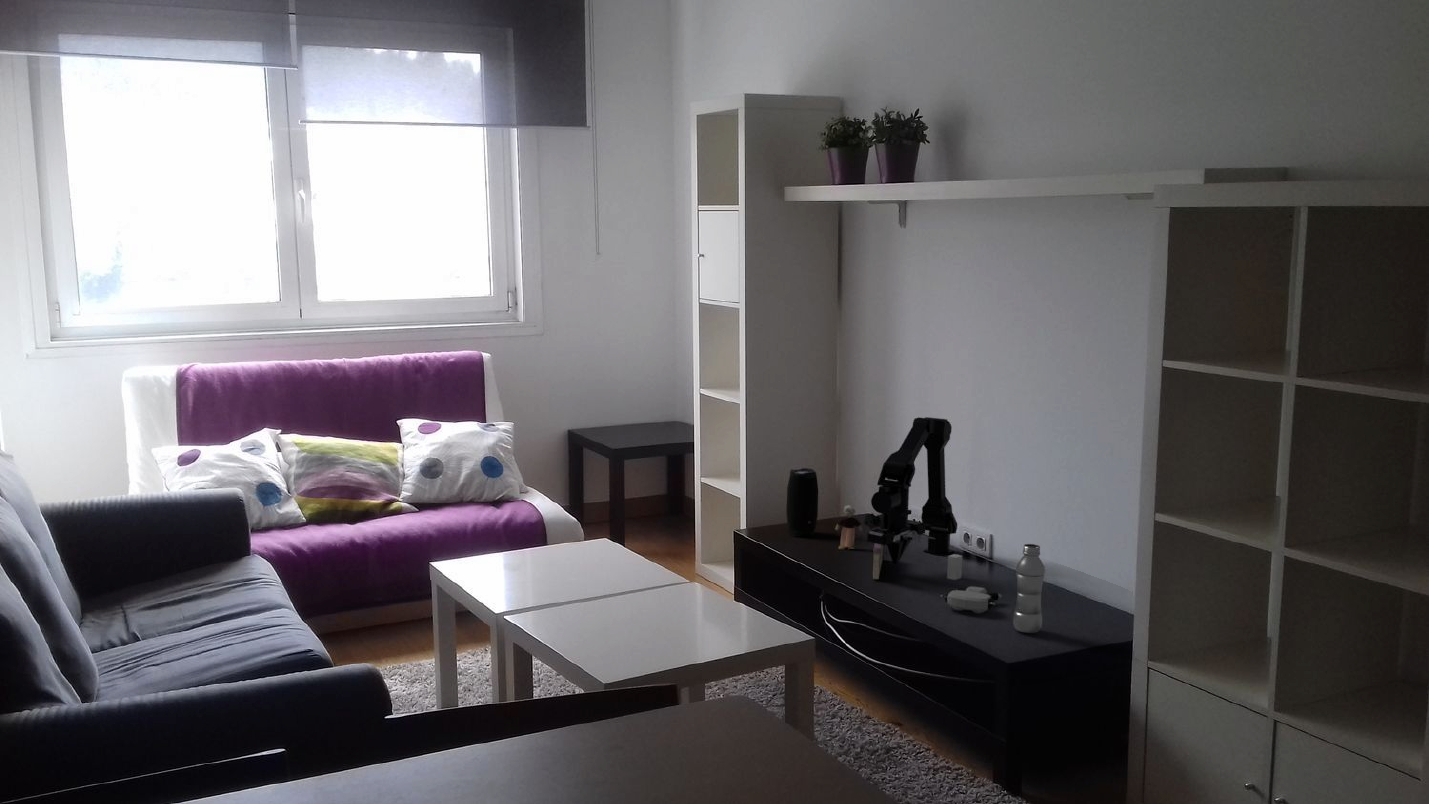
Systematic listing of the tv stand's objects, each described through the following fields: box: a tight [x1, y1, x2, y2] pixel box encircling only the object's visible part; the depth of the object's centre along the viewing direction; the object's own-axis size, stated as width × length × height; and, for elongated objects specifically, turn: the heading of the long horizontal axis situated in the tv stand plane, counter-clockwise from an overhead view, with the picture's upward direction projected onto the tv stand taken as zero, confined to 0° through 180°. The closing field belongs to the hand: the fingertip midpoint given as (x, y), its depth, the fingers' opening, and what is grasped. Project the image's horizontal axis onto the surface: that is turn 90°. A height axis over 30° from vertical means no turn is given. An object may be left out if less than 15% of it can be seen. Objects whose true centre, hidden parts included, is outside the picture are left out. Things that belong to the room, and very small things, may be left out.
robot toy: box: [940, 586, 1003, 615], centre depth 292 cm, size 12×4×15 cm
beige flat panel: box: [872, 543, 885, 580], centre depth 324 cm, size 22×2×8 cm, turn 169°
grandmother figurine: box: [835, 505, 864, 550], centre depth 346 cm, size 8×4×13 cm, turn 92°
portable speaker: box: [785, 467, 819, 538], centre depth 361 cm, size 9×9×20 cm
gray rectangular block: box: [946, 553, 963, 581], centre depth 317 cm, size 3×2×6 cm
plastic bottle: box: [1012, 543, 1046, 634], centre depth 273 cm, size 6×7×20 cm
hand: (895, 563), depth 319 cm, fingers closed
